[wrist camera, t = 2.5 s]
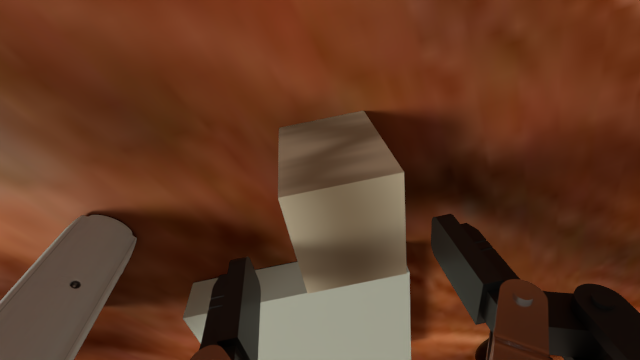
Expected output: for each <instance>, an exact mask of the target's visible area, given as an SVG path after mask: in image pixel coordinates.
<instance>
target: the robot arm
mask: <svg viewBox="0 0 640 360" xmlns="http://www.w3.org/2000/svg"><path fill="white" fill-rule="evenodd" d="M431 246H432V250H433V253H434V256H435V258H436V259H437V261H438V263H439V264H440V266H441V268H442V269H443V271H444V273H445V274H446V276H447V278H448V279H449V281H450V283H451V284H452V286H453V288H454V289H455V291H456V293H457V294H458V296H459V298H460V299H461V301H462V303H463V304H464V306H465V308H466V309H467V311H468V312H469V314H470V316H471V317H472V319H473V321H474V322H475V324H476V325H477V324H481V323H486V324H487V325H488V327H489V329H490V333H489V341H488V348H487V356H486V360H553V359H552V358H551V357H550V356H549V355H557V356H562V357H563V358H564V360H640V313H639V312H638V311H637V310H636V309H635V308H634V307H633V306H632V305H631V304H630V303H628V302H627V301H626V300H625V299H624V298H623V297H622V296H621V295H619V294H618V293H617V292H615V291H613V290H611V289H609V288H607V287H604V286H601V285H597V284H583V285H580V286H578V287H577V288H576V289H575V291H574V294H572V293H558V292H546V291H542V290H541V289H540V288H539V287H537V286H536V285H534V284H532V283H530V282H528V281H525V280H521V279H520V278H519V277H518V276H517V275H516V274H515V273H514V272H513V271H512V269H511V268H510V267H509V266H508V265H507V263H506V262H505V261H504V260H503V259H502V258H501V256H500V255H499V254H498V253H497V252H496V250H495V249H493V248H492V246H491V245H490V243H489V242H488V241H486V239H485V238H484V236H483V235H482V234H481V233H480V232H479V230H477V229H476V228H474V227H472V226H471V225H469V224H467V223H464V224H460V223H459V222H458V221H457V220H456V218H455V217H454V216H453V215H452V214H447V215H442V216H438V217H433V218H432V231H431ZM260 303H261V288H260V283H259V279H258V277H257V274H256V272H255V270H254V267H253V265H252V263H251V260H250V258H249V257H244V258H239V259H235V260H231V261H230V263H229V269H228V274H225V275H220V276H219V278H218V279H217V281H216V283H215V284H214V286H213V289H212V293H211V300H210V303H209V310H208V312H207V317H206V322H205V327H204V331H203V336H202V341H201V345H200V349H199V351H198V352H196V353H195V354H194V355H193V356H192V358H191V359H190V360H258V346H259V324H260Z"/></svg>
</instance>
